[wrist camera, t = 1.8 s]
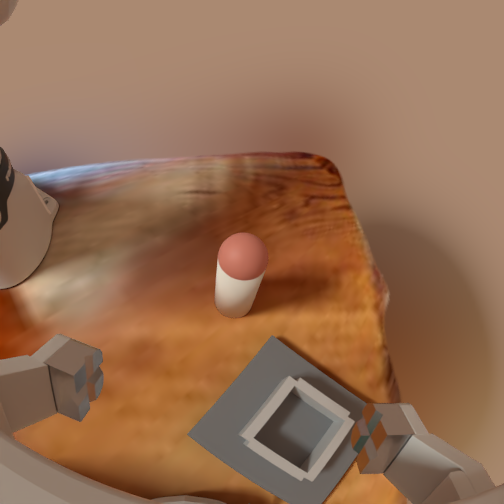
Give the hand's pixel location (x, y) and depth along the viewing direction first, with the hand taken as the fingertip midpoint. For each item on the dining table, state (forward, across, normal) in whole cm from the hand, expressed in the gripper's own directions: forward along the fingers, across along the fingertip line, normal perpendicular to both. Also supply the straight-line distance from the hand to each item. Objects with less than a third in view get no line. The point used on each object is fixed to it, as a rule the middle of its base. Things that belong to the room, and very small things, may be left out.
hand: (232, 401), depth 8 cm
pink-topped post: (+27, +1, +8) cm, 28 cm away
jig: (+17, -8, +18) cm, 26 cm away
